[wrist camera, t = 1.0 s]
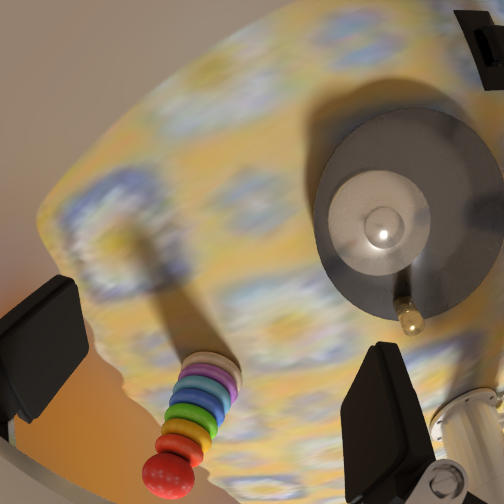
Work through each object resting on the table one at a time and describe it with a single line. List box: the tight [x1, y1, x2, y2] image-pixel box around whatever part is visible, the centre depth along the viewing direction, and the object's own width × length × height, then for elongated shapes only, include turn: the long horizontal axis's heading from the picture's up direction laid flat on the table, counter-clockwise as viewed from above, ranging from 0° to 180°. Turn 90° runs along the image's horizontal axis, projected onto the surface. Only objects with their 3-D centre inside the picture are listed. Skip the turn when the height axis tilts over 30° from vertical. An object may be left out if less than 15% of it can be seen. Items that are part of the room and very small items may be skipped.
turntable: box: [313, 108, 504, 336], centre depth 22 cm, size 20×20×6 cm
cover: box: [326, 167, 431, 276], centre depth 22 cm, size 8×8×4 cm
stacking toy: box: [142, 351, 242, 499], centre depth 28 cm, size 8×8×19 cm
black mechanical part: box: [454, 10, 504, 91], centre depth 17 cm, size 12×7×5 cm, turn 18°
